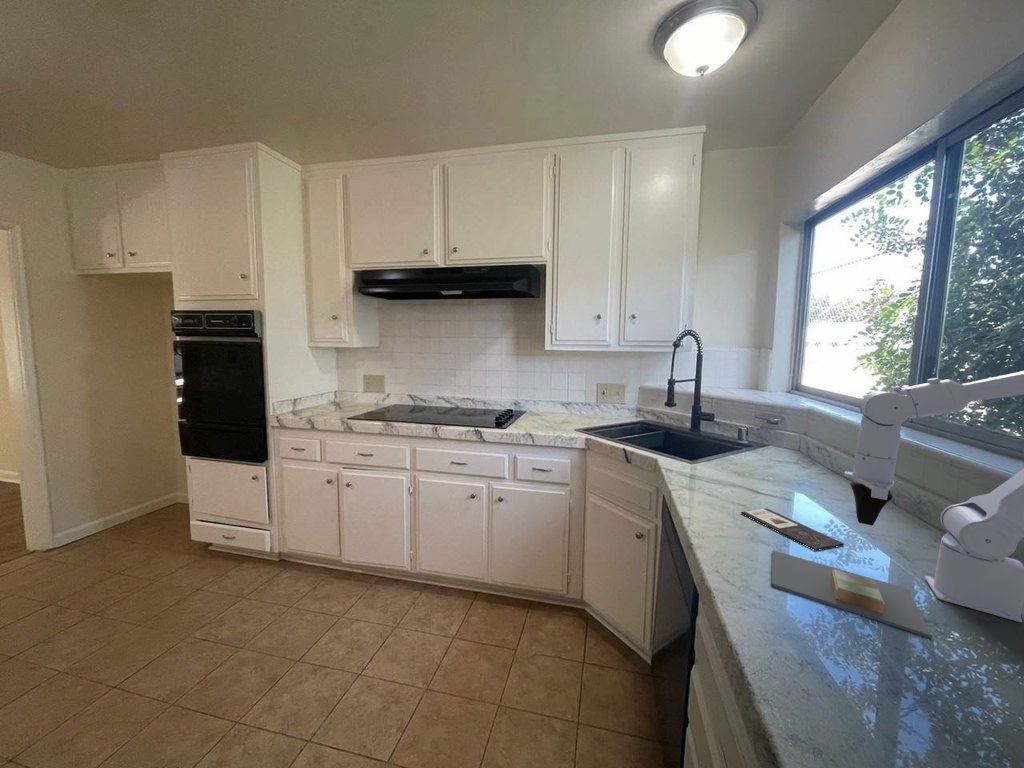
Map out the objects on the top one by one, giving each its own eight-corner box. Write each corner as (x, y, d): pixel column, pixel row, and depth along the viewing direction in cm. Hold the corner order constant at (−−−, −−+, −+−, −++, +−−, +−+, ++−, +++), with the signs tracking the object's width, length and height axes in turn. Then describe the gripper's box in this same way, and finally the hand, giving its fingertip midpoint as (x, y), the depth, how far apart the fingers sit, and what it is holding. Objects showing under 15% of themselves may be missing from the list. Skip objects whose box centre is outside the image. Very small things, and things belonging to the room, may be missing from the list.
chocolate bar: (815, 548, 82) (741, 511, 99) (814, 553, 82) (740, 515, 99) (844, 543, 85) (767, 508, 102) (843, 547, 85) (766, 511, 102)
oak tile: (876, 580, 68) (885, 602, 62) (874, 591, 68) (883, 613, 62) (832, 568, 71) (836, 587, 65) (830, 578, 71) (835, 598, 66)
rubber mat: (905, 590, 70) (906, 588, 69) (931, 638, 58) (932, 635, 58) (772, 552, 81) (772, 550, 81) (771, 586, 69) (771, 583, 69)
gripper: (842, 443, 82) (833, 504, 83) (854, 459, 70) (843, 530, 71) (888, 449, 78) (878, 514, 79) (909, 467, 66) (896, 543, 67)
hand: (865, 523), depth 75 cm, fingers closed
